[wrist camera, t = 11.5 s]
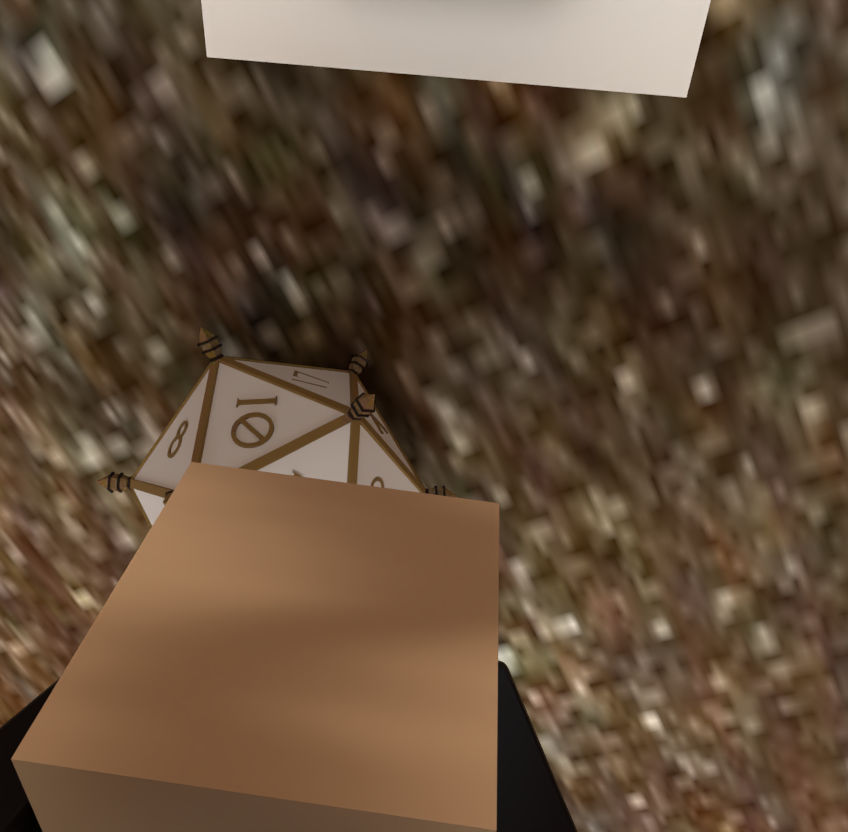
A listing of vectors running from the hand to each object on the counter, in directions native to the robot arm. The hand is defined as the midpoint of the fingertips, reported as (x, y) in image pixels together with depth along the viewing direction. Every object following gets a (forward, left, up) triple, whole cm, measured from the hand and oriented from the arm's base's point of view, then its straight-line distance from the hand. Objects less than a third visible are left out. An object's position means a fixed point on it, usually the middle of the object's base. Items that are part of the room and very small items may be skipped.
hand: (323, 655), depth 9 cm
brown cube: (0, 0, -1) cm, 1 cm away
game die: (+3, +5, -13) cm, 15 cm away
